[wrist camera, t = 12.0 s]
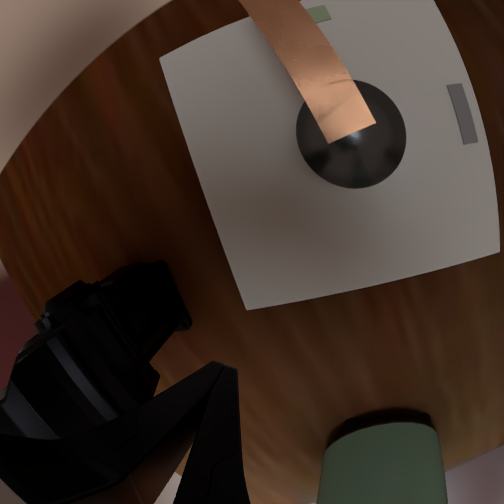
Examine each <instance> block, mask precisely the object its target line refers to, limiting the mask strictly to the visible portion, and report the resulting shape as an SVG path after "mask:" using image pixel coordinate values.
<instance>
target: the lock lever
mask: <svg viewBox="0 0 504 504" xmlns="http://www.w3.org/2000/svg"><path fill="white" fill-rule="evenodd" d="M238 1H239V2H240V3H241V5H242V6H243V7H244V9H245V10H246V12H247V13H248V14H249V16H250V17H251V19H252V20H253V21H254V23H255V24H256V26H257V27H258V28H259V30H260V31H261V33H262V34H263V36H264V37H265V39H266V40H267V41H268V43H269V44H270V46H271V47H272V49H273V50H274V52H275V54H276V55H277V57H278V58H279V60H280V61H281V63H282V64H283V66H284V68H285V69H286V71H287V72H288V74H289V76H290V77H291V79H292V81H293V82H294V84H295V86H296V87H297V89H298V91H299V92H300V94H301V96H302V98H303V99H304V103H303V105H302V107H301V109H300V111H299V114H298V117H297V122H296V138H297V143H298V147H299V150H300V152H301V154H302V156H303V158H304V160H305V161H306V163H307V164H308V166H309V167H310V168H311V169H312V170H313V171H314V172H315V173H316V174H317V175H318V176H320V177H321V178H322V179H324V180H326V181H327V182H329V183H331V184H334V185H336V186H340V187H344V188H351V189H359V188H366V187H371V186H373V185H376V184H378V183H380V182H382V181H384V180H385V179H386V178H388V177H389V176H390V175H391V174H392V173H393V172H394V171H395V170H396V168H397V167H398V165H399V164H400V162H401V160H402V158H403V155H404V152H405V148H406V128H405V124H404V120H403V118H402V115H401V113H400V111H399V109H398V108H397V106H396V105H395V103H394V102H393V101H392V100H391V99H390V98H389V96H388V95H386V94H385V93H384V92H383V91H381V90H380V89H378V88H377V87H375V86H373V85H371V84H369V83H366V82H363V81H358V80H352V78H351V76H350V74H349V73H348V71H347V69H346V68H345V66H344V65H343V63H342V61H341V60H340V58H339V57H338V55H337V54H336V52H335V50H334V49H333V47H332V46H331V44H330V43H329V41H328V40H327V39H326V37H325V36H324V34H323V33H322V31H321V30H320V28H319V27H318V26H317V24H316V23H315V22H314V20H313V19H312V18H311V16H310V15H309V14H308V12H307V11H306V10H305V8H304V7H303V6H302V4H301V3H300V2H299V1H298V0H238Z"/></svg>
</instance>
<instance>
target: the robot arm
mask: <svg viewBox="0 0 504 504" xmlns="http://www.w3.org/2000/svg"><path fill="white" fill-rule="evenodd" d="M159 265H160V266H161V267H162V269H161V268H160V267H159ZM39 318H40V319H39V320H38V321H37V322H36V323H35V324H34V325H33V326H34V328H35V329H36V331H37V334H36V335H35V336H33V337H32V338H30V339H29V340H28V341H26V342H25V344H24V345H23V347H22V349H21V350H20V352H19V354H18V356H17V357H16V360H15V363H14V366H13V369H12V372H11V376H10V379H9V382H8V385H6V386H5V387H4V388H3V389H1V390H0V504H154V503H155V501H156V500H157V498H158V496H159V495H160V493H161V492H162V490H163V489H164V487H165V486H166V484H167V483H168V481H169V480H170V478H171V477H172V475H173V473H174V472H175V470H176V469H177V467H178V466H179V464H180V462H181V461H182V459H183V458H184V456H185V454H186V453H187V451H188V450H189V448H190V446H191V445H192V443H193V445H192V448H191V451H190V454H189V457H188V460H187V463H186V466H185V469H184V472H183V475H182V478H181V481H180V484H179V487H178V490H177V493H176V497H175V499H174V502H173V504H250V500H249V496H248V492H247V487H246V482H245V477H244V470H243V459H242V452H241V451H242V445H241V428H240V410H239V391H238V371H237V369H236V368H234V367H231V366H228V365H226V366H225V365H224V364H222V363H219V362H216V361H212V362H210V363H208V364H207V365H205V366H204V367H202V368H201V369H199V370H197V371H196V372H194V373H193V374H191V375H189V376H188V377H186V378H185V379H183V380H181V381H180V382H178V383H176V384H175V385H173V386H172V387H170V388H168V389H167V390H165V391H163V392H162V393H160V394H158V395H156V396H155V397H153V396H154V393H155V390H156V387H157V384H158V381H159V378H160V375H159V373H158V372H157V371H156V370H154V368H153V367H152V366H151V364H150V363H149V361H150V360H151V359H152V358H153V356H154V355H155V354H156V353H157V352H158V350H159V349H160V348H161V347H162V345H163V344H164V343H165V342H166V341H167V339H168V338H169V337H170V336H171V334H172V333H173V332H174V331H181V330H188V329H189V328H190V327H191V326H192V322H191V320H190V318H189V316H188V313H187V311H186V309H185V307H184V305H183V302H182V300H181V298H180V296H179V293H178V291H177V289H176V286H175V284H174V282H173V279H172V277H171V275H170V272H169V270H168V267H167V265H166V263H165V262H164V261H156V262H153V263H149V264H146V265H143V264H142V263H140V262H138V263H135V264H131V265H128V266H124V267H121V268H119V269H118V270H116V271H115V272H113V273H112V274H110V275H109V276H107V277H106V278H104V279H103V280H101V281H100V282H98V281H96V282H95V283H93V284H90V283H87V284H86V283H84V282H83V281H81V280H79V281H77V282H76V283H74V284H73V285H71V286H70V287H68V288H67V289H65V290H64V291H62V292H60V293H59V294H57V295H56V296H54V297H53V298H51V299H50V300H49V301H47V302H46V303H45V304H44V310H43V314H42V315H41V316H40V317H39ZM185 323H186V324H187V325H186V324H185Z"/></svg>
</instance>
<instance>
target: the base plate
mask: <svg viewBox="0 0 504 504" xmlns="http://www.w3.org/2000/svg"><path fill="white" fill-rule="evenodd" d="M299 2H300V3H301V4H302V6H303V7H304V8H305V10H306V11H307V12H308V14H309V15H310V16H311V18H312V19H313V20H314V22H315V23H316V24H317V26H318V27H319V28H320V30H321V31H322V33H323V34H324V36H325V37H326V39H327V40H328V41H329V43H330V44H331V46H332V47H333V49H334V50H335V52H336V54H337V55H338V57H339V58H340V60H341V61H342V63H343V65H344V66H345V68H346V69H347V71H348V73H349V74H350V76H351V78H352V80H358V81H363V82H366V83H369V84H371V85H373V86H375V87H377V88H378V89H380V90H381V91H383V92H384V93H385V94H386V95H388V96H389V98H390V99H391V100H392V101H393V102H394V103H395V105H396V106H397V108H398V109H399V111H400V113H401V115H402V118H403V120H404V124H405V128H406V148H405V152H404V155H403V158H402V160H401V162H400V164H399V165H398V167H397V168H396V170H395V171H394V172H393V173H392V174H391V175H390V176H389V177H388V178H386V179H385V180H384V181H382V182H380V183H378V184H376V185H373V186H371V187H366V188H359V189H351V188H344V187H340V186H336V185H334V184H331V183H329V182H327V181H326V180H324V179H322V178H321V177H320V176H318V175H317V174H316V173H315V172H314V171H313V170H312V169H311V168H310V167H309V166H308V164H307V163H306V161H305V160H304V158H303V156H302V154H301V152H300V150H299V147H298V143H297V138H296V122H297V117H298V114H299V111H300V109H301V107H302V105H303V103H304V99H303V98H302V96H301V94H300V92H299V91H298V89H297V87H296V86H295V84H294V82H293V81H292V79H291V77H290V76H289V74H288V72H287V71H286V69H285V68H284V66H283V64H282V63H281V61H280V60H279V58H278V57H277V55H276V54H275V52H274V50H273V49H272V47H271V46H270V44H269V43H268V41H267V40H266V39H265V37H264V36H263V34H262V33H261V31H260V30H259V28H258V27H257V26H256V24H255V23H254V21H253V20H252V19H251V17H247V18H245V19H242V20H239V21H237V22H234V23H232V24H229V25H227V26H224V27H222V28H220V29H217V30H215V31H213V32H211V33H208V34H206V35H204V36H202V37H200V38H198V39H196V40H193V41H191V42H189V43H187V44H185V45H183V46H181V47H180V48H178V49H176V50H174V51H172V52H170V53H168V54H166V55H165V56H163V57H161V58H159V60H160V63H161V66H162V69H163V72H164V76H165V79H166V82H167V85H168V88H169V91H170V94H171V97H172V101H173V104H174V107H175V110H176V113H177V116H178V119H179V122H180V125H181V128H182V131H183V134H184V137H185V140H186V143H187V146H188V149H189V152H190V155H191V158H192V161H193V164H194V166H195V169H196V172H197V175H198V178H199V181H200V184H201V187H202V190H203V192H204V195H205V198H206V201H207V204H208V207H209V209H210V212H211V215H212V218H213V221H214V224H215V226H216V229H217V232H218V235H219V237H220V240H221V243H222V246H223V248H224V251H225V254H226V257H227V259H228V262H229V265H230V268H231V270H232V273H233V276H234V278H235V281H236V284H237V286H238V289H239V292H240V294H241V297H242V300H243V302H244V305H245V308H246V310H252V309H258V308H264V307H269V306H275V305H281V304H286V303H292V302H297V301H302V300H307V299H312V298H318V297H323V296H327V295H332V294H337V293H342V292H347V291H351V290H356V289H360V288H365V287H369V286H374V285H378V284H382V283H387V282H391V281H395V280H399V279H403V278H407V277H411V276H415V275H419V274H423V273H427V272H431V271H435V270H438V269H442V268H446V267H450V266H453V265H457V264H460V263H464V262H467V261H471V260H474V259H478V258H481V257H484V256H488V255H491V254H494V253H498V252H500V238H499V219H498V207H497V197H496V189H495V182H494V175H493V169H492V163H491V157H490V152H489V147H488V143H487V138H486V134H485V130H484V126H483V122H482V118H481V114H480V111H479V107H478V104H477V101H476V97H475V94H474V91H473V88H472V85H471V82H470V79H469V77H468V74H467V71H466V69H465V66H464V63H463V61H462V58H461V56H460V54H459V51H458V49H457V46H456V44H455V42H454V40H453V38H452V35H451V33H450V31H449V29H448V27H447V25H446V23H445V21H444V19H443V17H442V15H441V13H440V11H439V10H438V8H437V6H436V4H435V2H434V1H433V0H301V1H299Z"/></svg>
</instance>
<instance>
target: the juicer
mask: <svg viewBox="0 0 504 504" xmlns="http://www.w3.org/2000/svg"><path fill="white" fill-rule="evenodd" d="M316 504H448V499H447V489H446V480H445V472H444V465H443V458H442V452H441V446H440V441H439V435H438V432H437V431H436V429H435V428H434V427H433V425H432V424H431V420H430V416H429V414H420V415H418V416H416V417H415V418H413V417H408V416H391V417H384V418H377V419H373V420H370V421H366V422H362V421H361V420H360V419H356V418H353V419H349V420H347V421H345V423H344V428H343V432H342V433H340V434H339V435H337V436H336V437H334V439H333V440H332V441H331V442H330V443H329V444H328V445H327V448H326V450H325V452H324V455H323V461H322V469H321V476H320V483H319V490H318V496H317V503H316Z"/></svg>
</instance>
